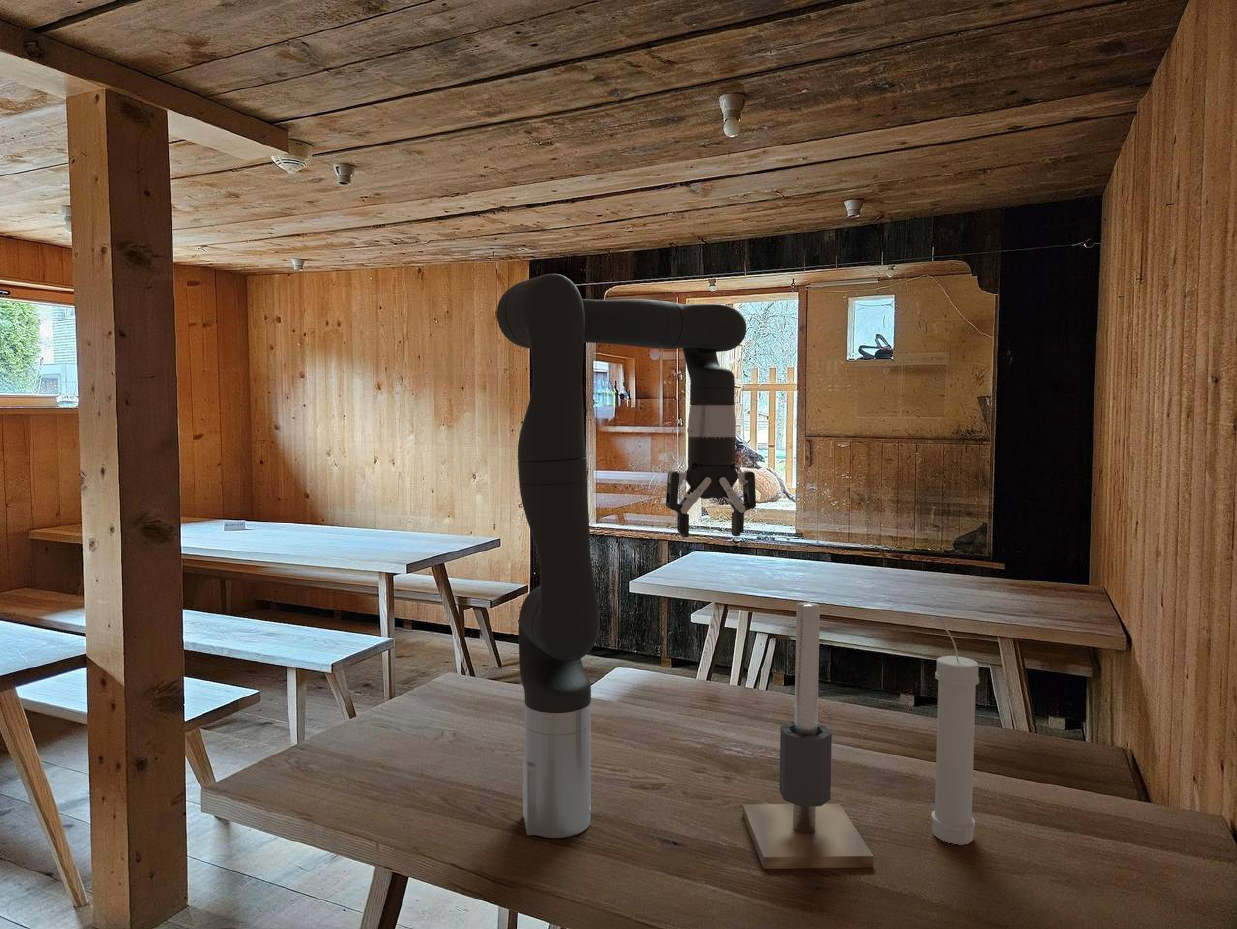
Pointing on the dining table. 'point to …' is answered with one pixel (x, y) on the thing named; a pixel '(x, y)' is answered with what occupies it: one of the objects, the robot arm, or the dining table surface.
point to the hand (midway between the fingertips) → (710, 536)
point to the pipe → (955, 748)
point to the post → (793, 829)
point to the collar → (805, 766)
